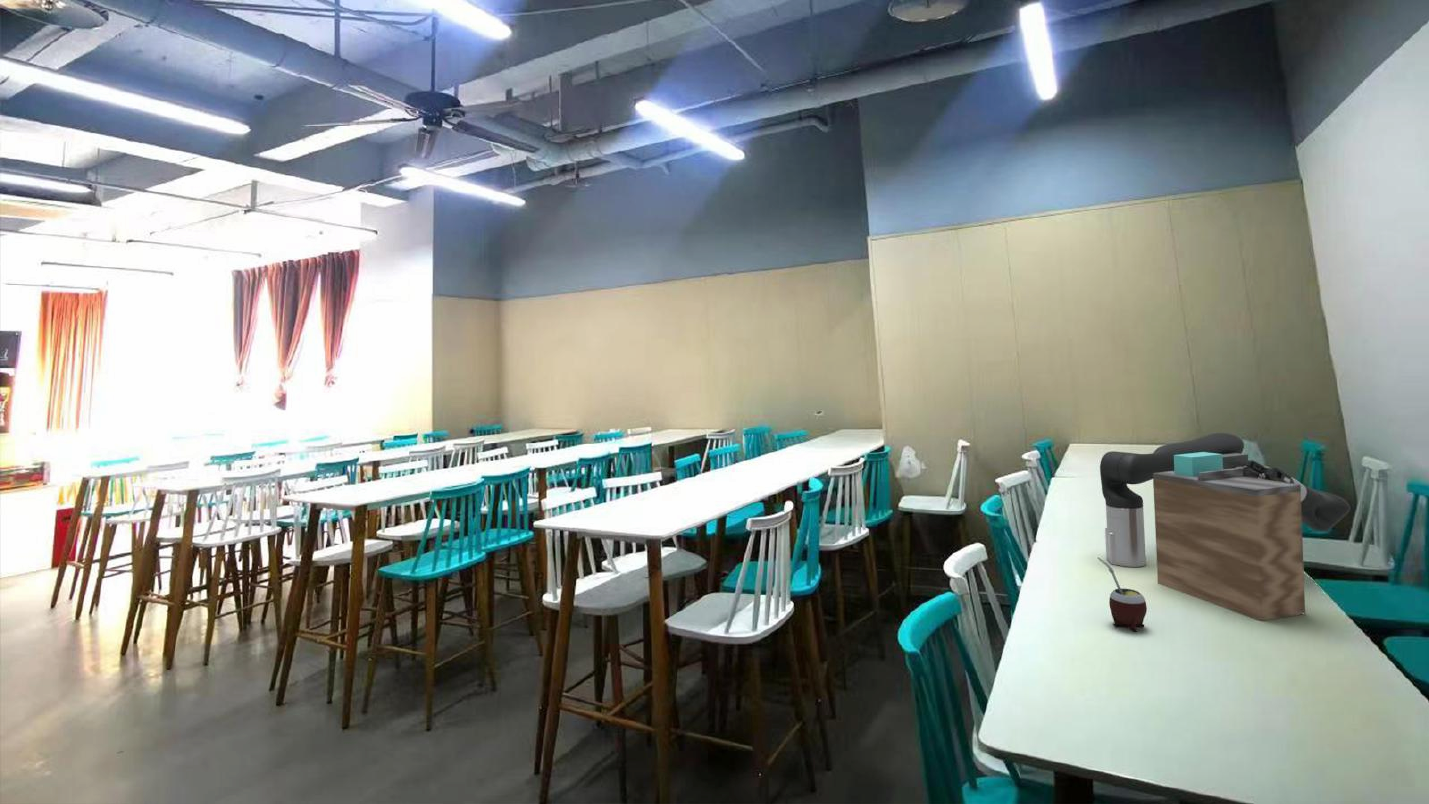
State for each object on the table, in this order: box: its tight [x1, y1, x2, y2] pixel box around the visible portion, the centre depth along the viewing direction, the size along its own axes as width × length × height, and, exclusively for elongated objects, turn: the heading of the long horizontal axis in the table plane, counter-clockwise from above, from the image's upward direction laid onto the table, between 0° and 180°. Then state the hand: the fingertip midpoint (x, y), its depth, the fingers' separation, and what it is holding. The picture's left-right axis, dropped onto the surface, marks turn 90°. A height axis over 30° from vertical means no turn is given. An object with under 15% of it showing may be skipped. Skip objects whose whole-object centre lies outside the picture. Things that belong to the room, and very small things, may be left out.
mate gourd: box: [1097, 557, 1148, 633], centre depth 135 cm, size 8×8×15 cm
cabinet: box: [1152, 467, 1306, 622], centre depth 146 cm, size 13×26×32 cm, turn 8°
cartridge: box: [1174, 452, 1249, 477], centre depth 153 cm, size 18×5×5 cm, turn 98°
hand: (1232, 461), depth 154 cm, fingers open, 8 cm apart
